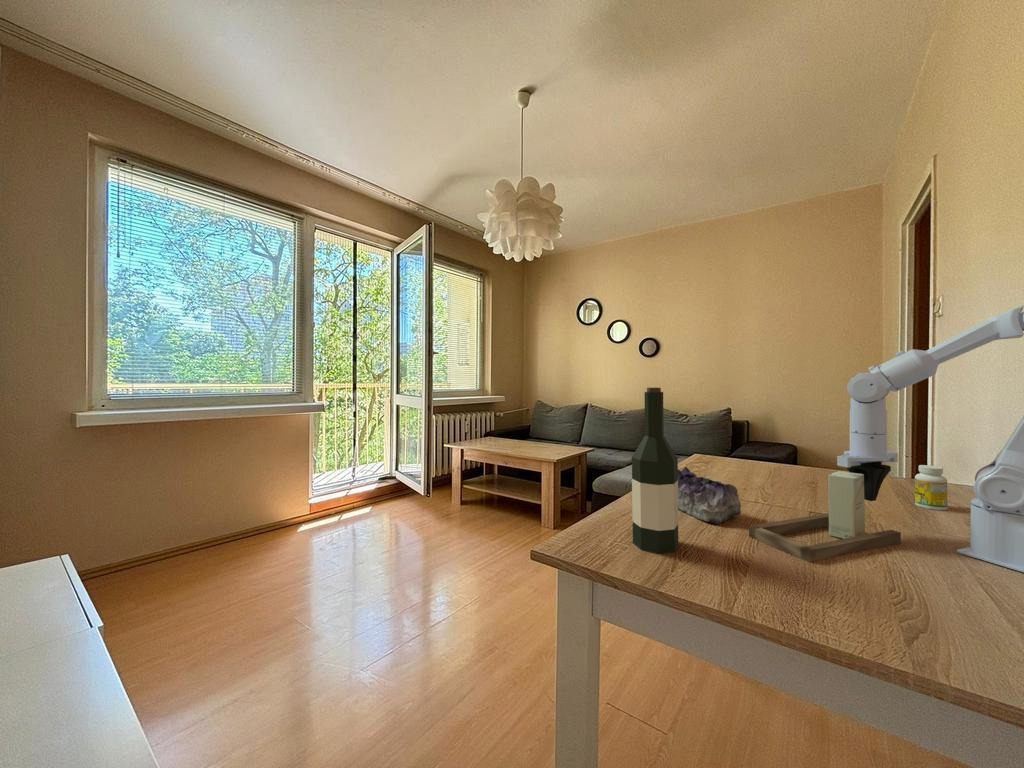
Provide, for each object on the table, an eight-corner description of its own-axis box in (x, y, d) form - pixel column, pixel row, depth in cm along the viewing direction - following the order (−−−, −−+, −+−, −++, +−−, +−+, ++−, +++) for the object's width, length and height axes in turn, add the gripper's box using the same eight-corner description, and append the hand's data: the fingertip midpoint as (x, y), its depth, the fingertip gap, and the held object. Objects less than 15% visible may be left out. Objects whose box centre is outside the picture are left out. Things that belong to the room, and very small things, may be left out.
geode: (647, 501, 104) (650, 462, 105) (684, 502, 108) (686, 465, 109) (708, 526, 85) (711, 477, 86) (750, 526, 89) (753, 480, 89)
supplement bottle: (953, 511, 93) (953, 469, 93) (923, 509, 95) (923, 468, 94) (938, 504, 98) (938, 465, 98) (909, 502, 100) (909, 463, 99)
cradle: (900, 543, 76) (900, 532, 76) (809, 562, 69) (809, 550, 69) (833, 521, 88) (833, 512, 88) (749, 536, 81) (748, 526, 81)
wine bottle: (683, 555, 73) (681, 388, 72) (634, 552, 75) (633, 388, 74) (674, 537, 81) (672, 386, 80) (630, 534, 83) (629, 387, 82)
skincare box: (855, 542, 77) (855, 478, 77) (827, 535, 81) (827, 474, 80) (865, 534, 81) (865, 473, 80) (837, 528, 84) (837, 469, 84)
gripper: (870, 428, 88) (870, 490, 88) (821, 432, 84) (821, 497, 84) (910, 432, 81) (910, 499, 82) (859, 436, 77) (859, 508, 77)
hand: (867, 499), depth 82 cm, fingers closed
